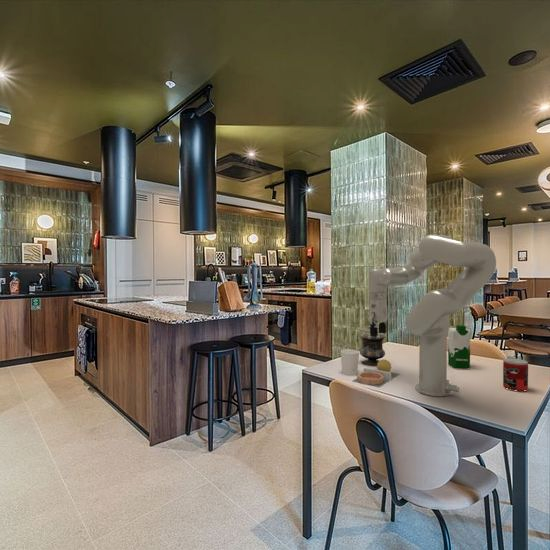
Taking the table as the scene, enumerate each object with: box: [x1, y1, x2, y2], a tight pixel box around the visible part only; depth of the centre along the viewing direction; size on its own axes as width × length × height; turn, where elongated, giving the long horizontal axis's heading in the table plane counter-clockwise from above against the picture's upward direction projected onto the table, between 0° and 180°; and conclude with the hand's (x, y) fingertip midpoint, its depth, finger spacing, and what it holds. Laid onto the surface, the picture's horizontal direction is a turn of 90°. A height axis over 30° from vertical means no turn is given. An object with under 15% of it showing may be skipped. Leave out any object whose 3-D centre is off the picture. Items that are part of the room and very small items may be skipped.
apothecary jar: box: [359, 325, 386, 367], centre depth 171 cm, size 12×12×18 cm
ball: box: [376, 359, 392, 372], centre depth 155 cm, size 6×6×6 cm
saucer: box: [356, 371, 384, 386], centre depth 144 cm, size 10×10×2 cm
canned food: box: [502, 357, 529, 391], centre depth 135 cm, size 8×8×11 cm
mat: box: [352, 368, 400, 388], centre depth 149 cm, size 12×22×1 cm, turn 140°
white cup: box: [340, 348, 360, 376], centre depth 156 cm, size 8×8×10 cm
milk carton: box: [447, 324, 472, 369], centre depth 165 cm, size 9×9×20 cm
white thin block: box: [363, 367, 392, 381], centre depth 149 cm, size 12×1×3 cm, turn 50°
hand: (378, 334), depth 155 cm, fingers open, 9 cm apart
